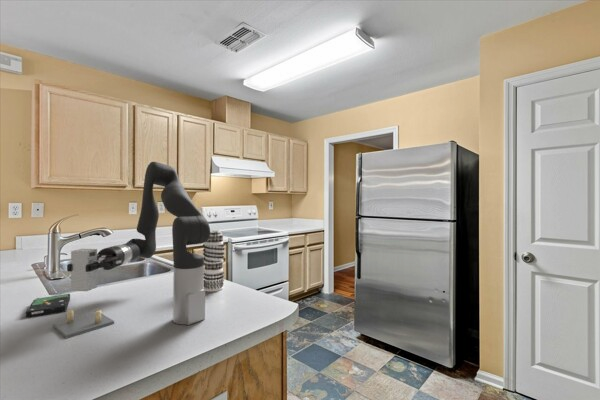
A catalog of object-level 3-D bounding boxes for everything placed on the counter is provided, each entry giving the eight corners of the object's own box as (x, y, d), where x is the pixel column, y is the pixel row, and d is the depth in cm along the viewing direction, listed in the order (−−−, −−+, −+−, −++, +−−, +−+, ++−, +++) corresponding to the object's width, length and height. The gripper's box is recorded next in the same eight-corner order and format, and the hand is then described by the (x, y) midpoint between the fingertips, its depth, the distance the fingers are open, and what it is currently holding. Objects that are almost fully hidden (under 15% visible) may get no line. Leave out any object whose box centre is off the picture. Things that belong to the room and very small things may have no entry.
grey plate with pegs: (114, 323, 90) (114, 309, 90) (66, 338, 80) (66, 322, 80) (98, 314, 97) (98, 301, 97) (53, 326, 87) (53, 312, 87)
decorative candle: (215, 292, 120) (216, 232, 120) (197, 290, 124) (198, 231, 123) (228, 286, 129) (229, 230, 129) (211, 284, 132) (212, 229, 132)
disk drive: (66, 313, 99) (70, 300, 111) (66, 305, 99) (70, 292, 111) (25, 320, 93) (33, 305, 105) (25, 311, 93) (34, 297, 105)
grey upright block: (97, 287, 91) (97, 248, 91) (87, 291, 87) (87, 251, 87) (81, 286, 91) (81, 248, 91) (70, 291, 87) (70, 251, 87)
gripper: (95, 245, 103) (53, 255, 86) (135, 246, 103) (101, 256, 86) (95, 266, 103) (53, 280, 86) (135, 267, 103) (101, 281, 86)
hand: (77, 268), depth 86 cm, fingers closed on grey upright block, 5 cm apart
